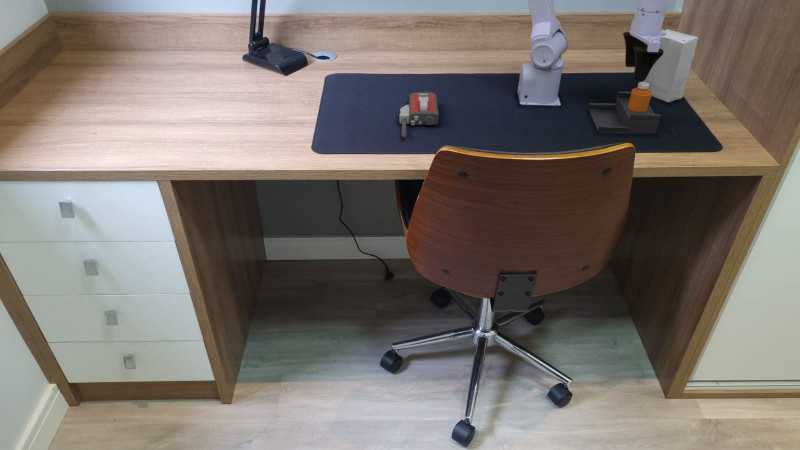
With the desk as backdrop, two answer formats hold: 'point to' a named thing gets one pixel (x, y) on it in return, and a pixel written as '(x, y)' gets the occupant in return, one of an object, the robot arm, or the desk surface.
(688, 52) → the cosmetic box
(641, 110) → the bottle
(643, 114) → the rack
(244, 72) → the desk surface
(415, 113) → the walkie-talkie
